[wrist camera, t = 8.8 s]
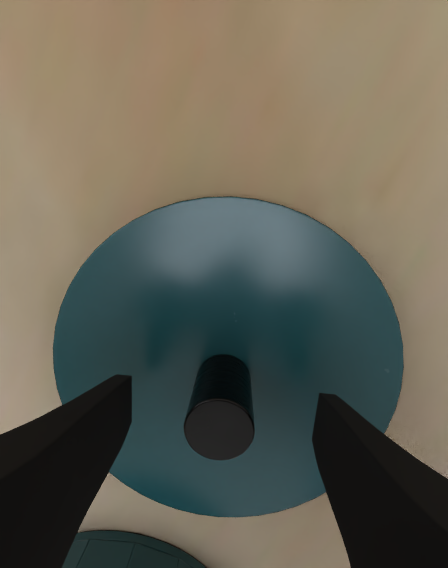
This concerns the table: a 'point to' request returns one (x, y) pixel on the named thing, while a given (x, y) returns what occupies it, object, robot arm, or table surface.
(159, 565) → the pot
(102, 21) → the table surface
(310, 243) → the pot lid
